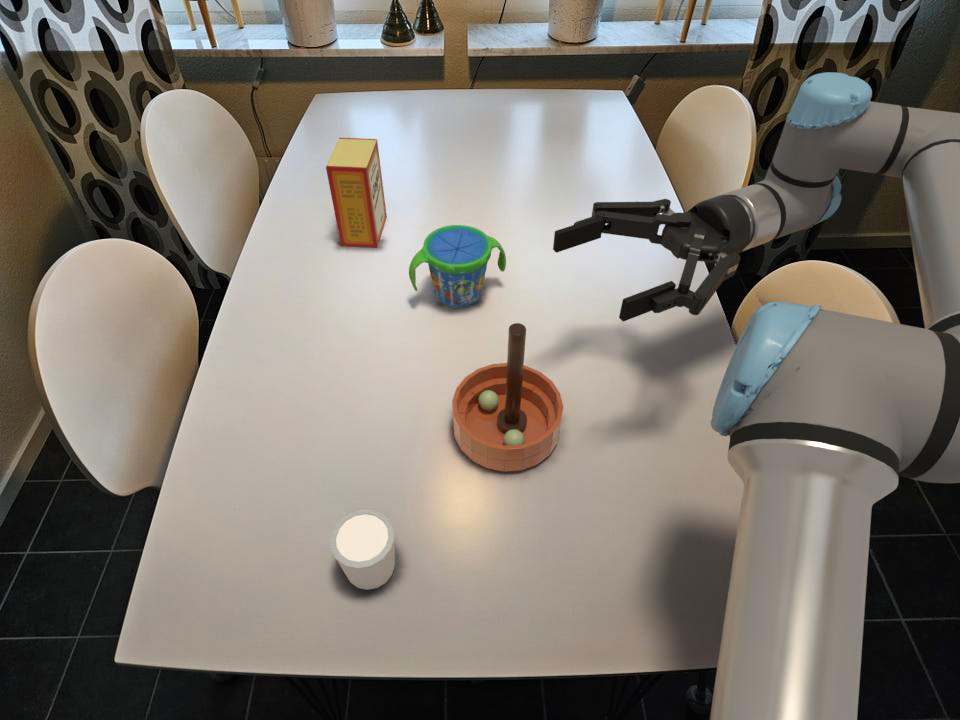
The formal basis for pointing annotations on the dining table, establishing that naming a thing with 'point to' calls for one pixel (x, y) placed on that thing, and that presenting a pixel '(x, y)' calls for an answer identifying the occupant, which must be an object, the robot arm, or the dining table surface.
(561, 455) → the dining table surface
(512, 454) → the bowl
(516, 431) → the bead
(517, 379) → the stick
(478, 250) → the snack cup
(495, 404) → the bead
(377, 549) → the white cup
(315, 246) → the dining table surface
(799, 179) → the robot arm
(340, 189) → the baking soda box
